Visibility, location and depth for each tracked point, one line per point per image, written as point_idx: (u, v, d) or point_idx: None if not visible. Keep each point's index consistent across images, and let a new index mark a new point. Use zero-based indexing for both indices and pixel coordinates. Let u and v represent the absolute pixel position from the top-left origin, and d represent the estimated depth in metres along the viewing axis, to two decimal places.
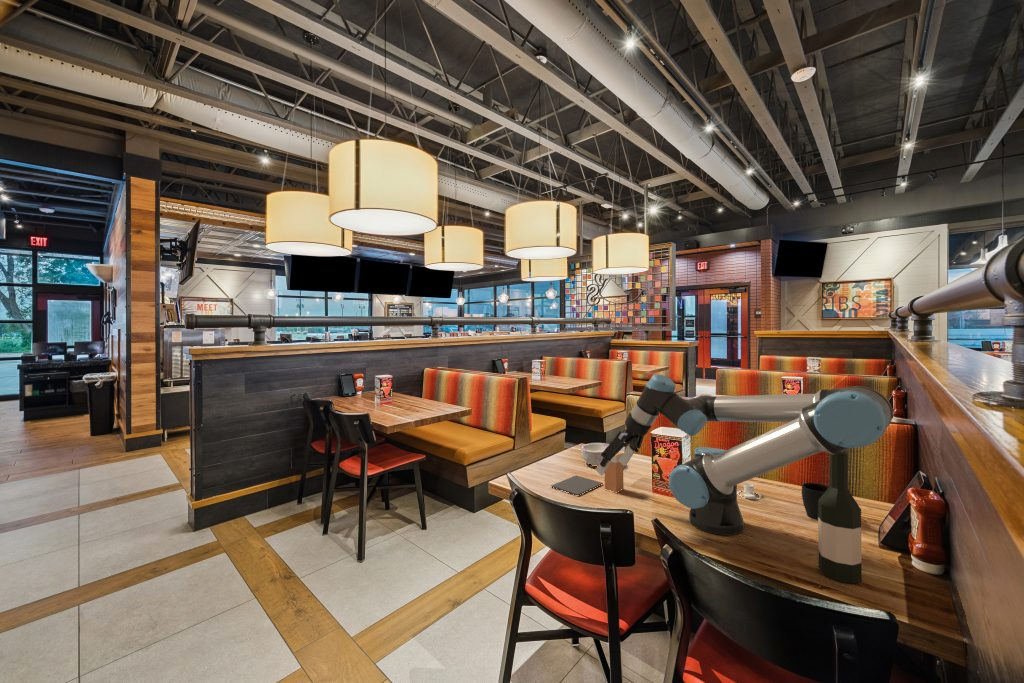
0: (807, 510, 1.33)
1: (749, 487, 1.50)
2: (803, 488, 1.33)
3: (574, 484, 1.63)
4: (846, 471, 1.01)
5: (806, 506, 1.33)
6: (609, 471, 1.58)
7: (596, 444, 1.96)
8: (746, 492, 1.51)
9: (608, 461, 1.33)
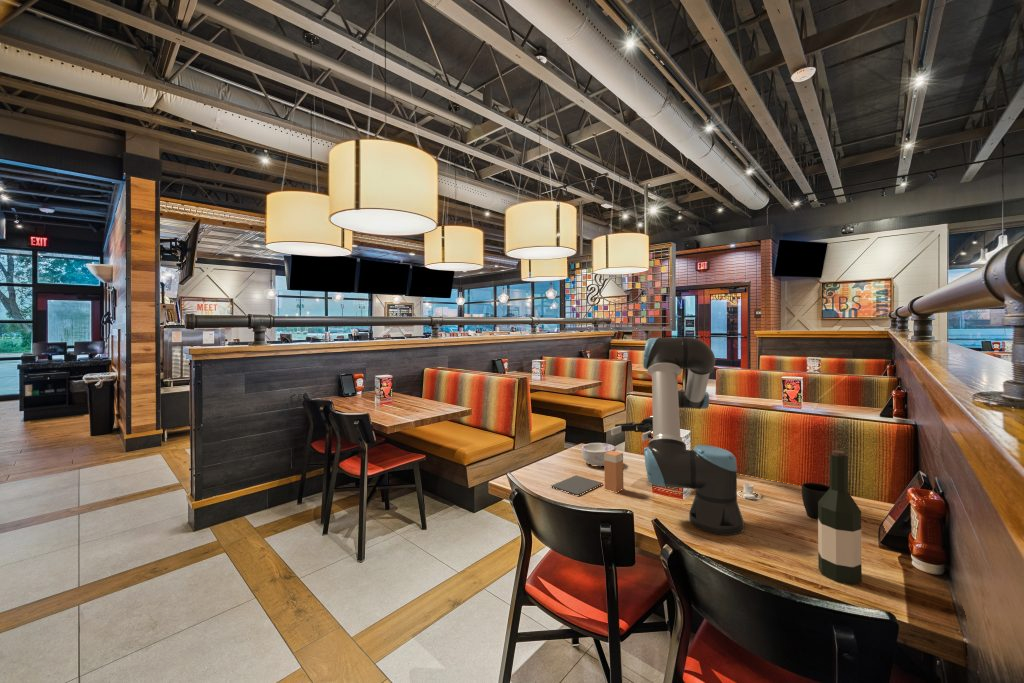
0: (807, 510, 1.33)
1: (749, 487, 1.50)
2: (803, 488, 1.33)
3: (574, 484, 1.63)
4: (846, 473, 1.00)
5: (806, 506, 1.33)
6: (609, 471, 1.58)
7: (596, 444, 1.96)
8: (746, 492, 1.51)
9: None
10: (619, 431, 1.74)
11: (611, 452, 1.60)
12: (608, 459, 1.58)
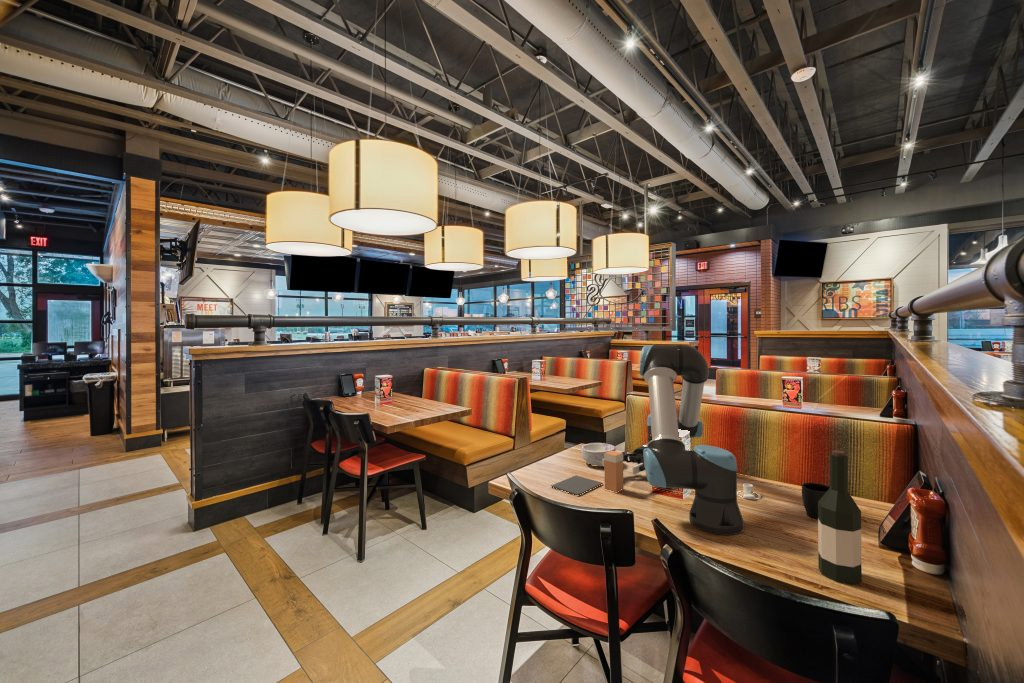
0: (807, 510, 1.33)
1: (748, 487, 1.50)
2: (803, 488, 1.33)
3: (574, 484, 1.63)
4: (846, 473, 1.00)
5: (806, 506, 1.33)
6: (609, 471, 1.58)
7: (596, 444, 1.96)
8: (745, 492, 1.51)
9: None
10: None
11: (611, 452, 1.60)
12: (608, 459, 1.58)
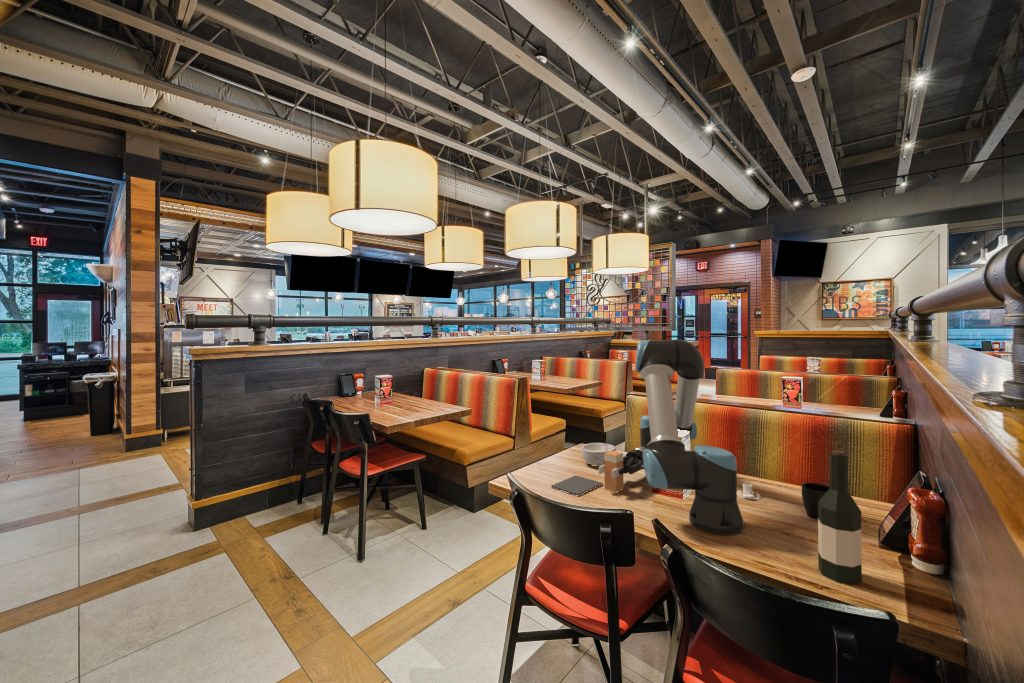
0: (807, 510, 1.33)
1: (748, 487, 1.50)
2: (803, 488, 1.33)
3: (574, 484, 1.63)
4: (846, 473, 1.00)
5: (806, 506, 1.33)
6: (609, 471, 1.58)
7: (596, 444, 1.96)
8: (745, 492, 1.51)
9: None
10: None
11: (611, 452, 1.60)
12: (608, 459, 1.58)
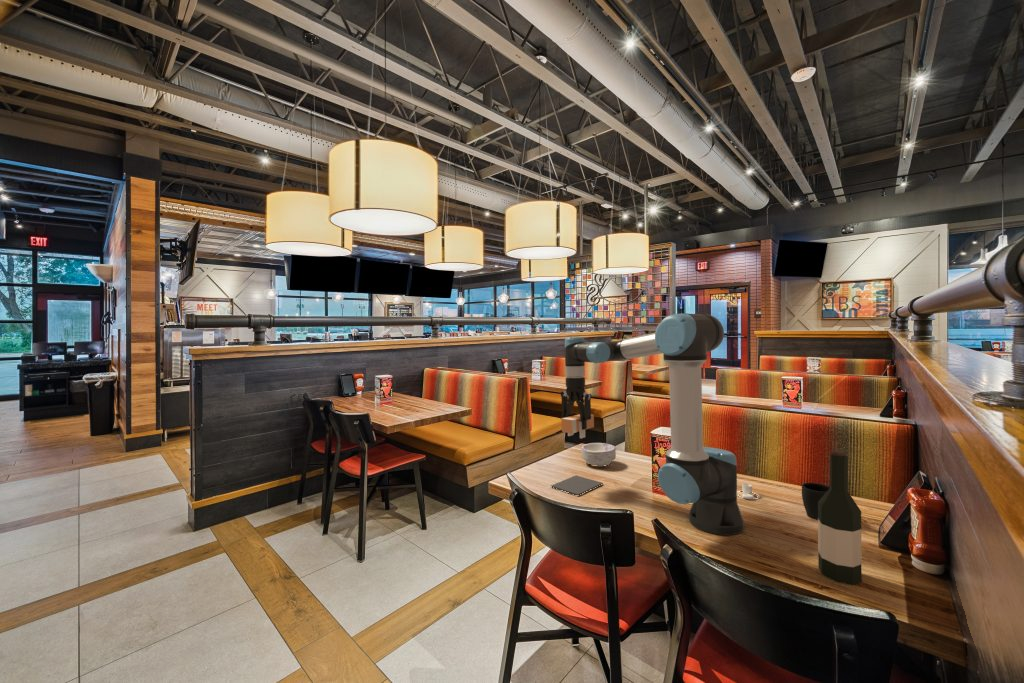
0: (807, 510, 1.33)
1: (747, 487, 1.50)
2: (803, 488, 1.33)
3: (574, 484, 1.63)
4: (846, 473, 1.00)
5: (806, 506, 1.33)
6: None
7: (596, 444, 1.96)
8: (744, 492, 1.51)
9: None
10: None
11: (564, 425, 1.60)
12: None
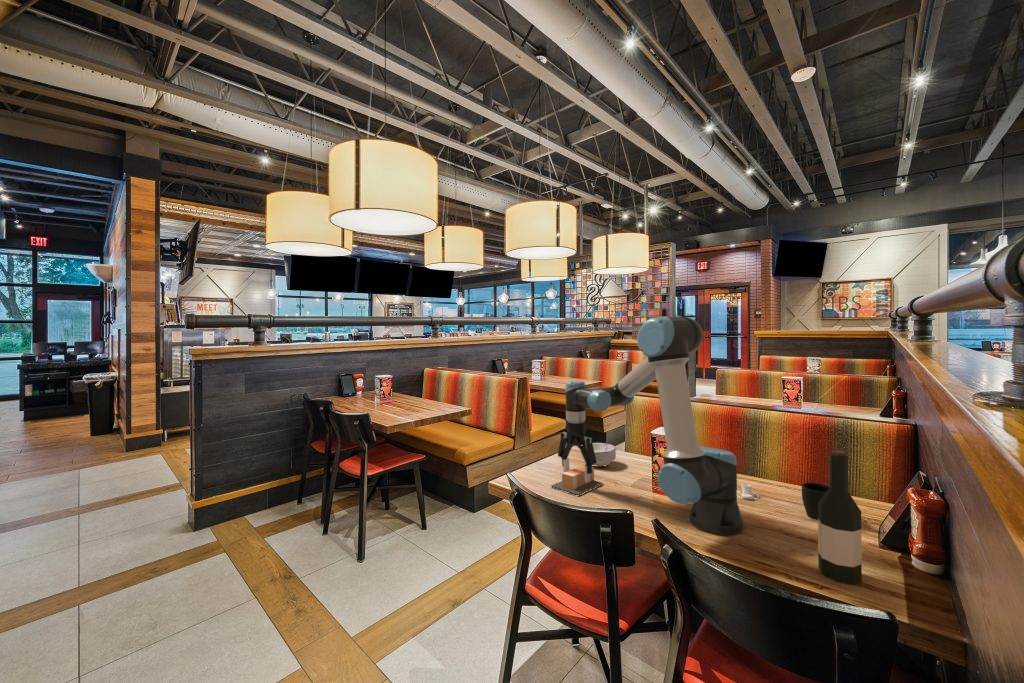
0: (807, 510, 1.33)
1: (747, 487, 1.50)
2: (803, 488, 1.33)
3: None
4: (846, 473, 1.00)
5: (806, 506, 1.33)
6: None
7: (596, 444, 1.96)
8: (744, 492, 1.51)
9: None
10: (568, 462, 1.67)
11: (565, 480, 1.60)
12: None
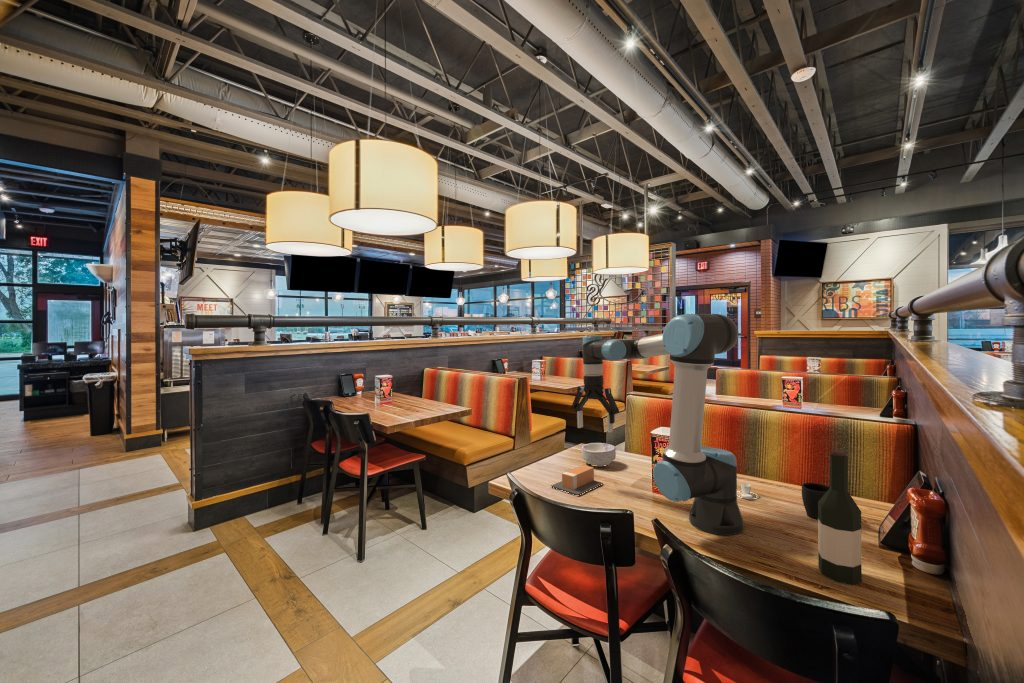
0: (807, 510, 1.33)
1: (746, 487, 1.50)
2: (803, 488, 1.33)
3: None
4: (846, 473, 1.00)
5: (806, 506, 1.33)
6: None
7: (596, 444, 1.96)
8: (743, 492, 1.51)
9: None
10: (581, 414, 1.68)
11: (565, 480, 1.60)
12: None
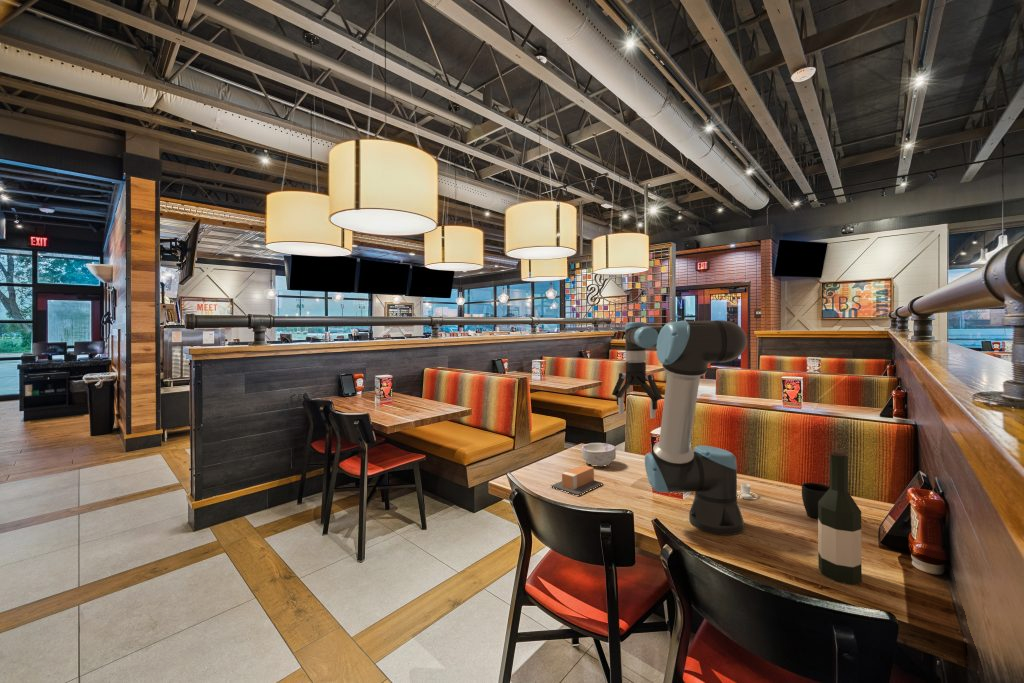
0: (807, 510, 1.33)
1: (746, 487, 1.50)
2: (803, 488, 1.33)
3: None
4: (846, 473, 1.00)
5: (806, 506, 1.33)
6: None
7: (596, 444, 1.96)
8: (743, 492, 1.51)
9: None
10: (622, 400, 1.70)
11: (565, 480, 1.60)
12: None
